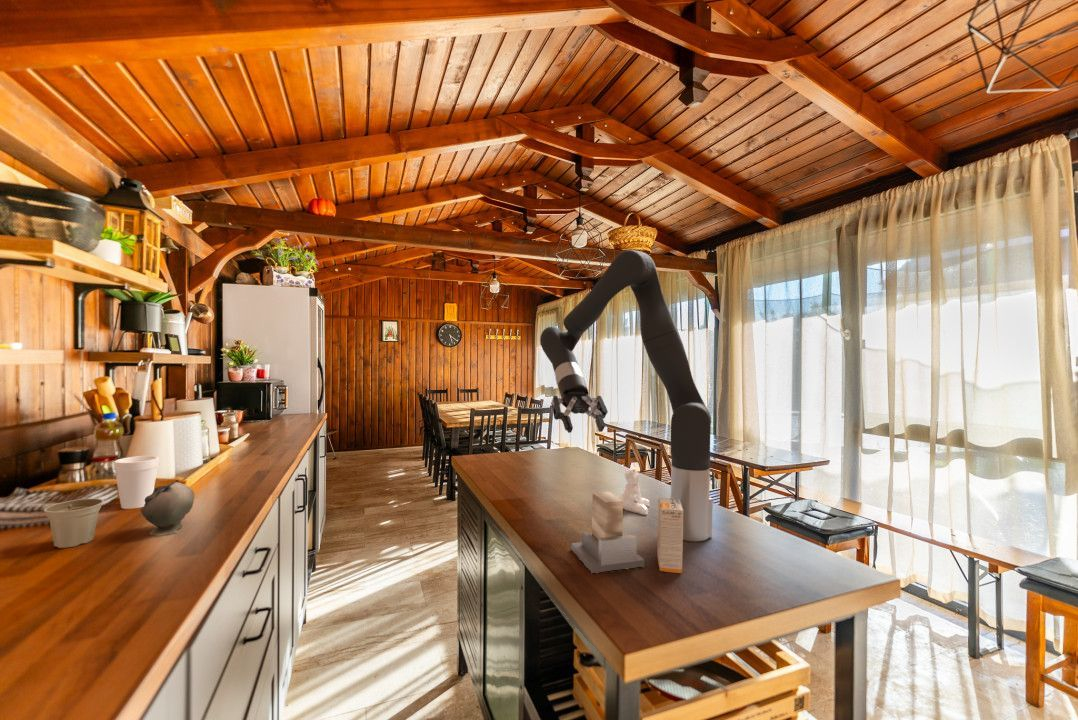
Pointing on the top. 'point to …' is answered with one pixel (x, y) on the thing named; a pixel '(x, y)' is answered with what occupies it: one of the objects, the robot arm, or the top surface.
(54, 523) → the flower pot
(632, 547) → the cradle
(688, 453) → the robot arm
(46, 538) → the top surface
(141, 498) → the foam cup
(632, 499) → the sitting furry creature
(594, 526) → the brown paper bag
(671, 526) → the supplement box
